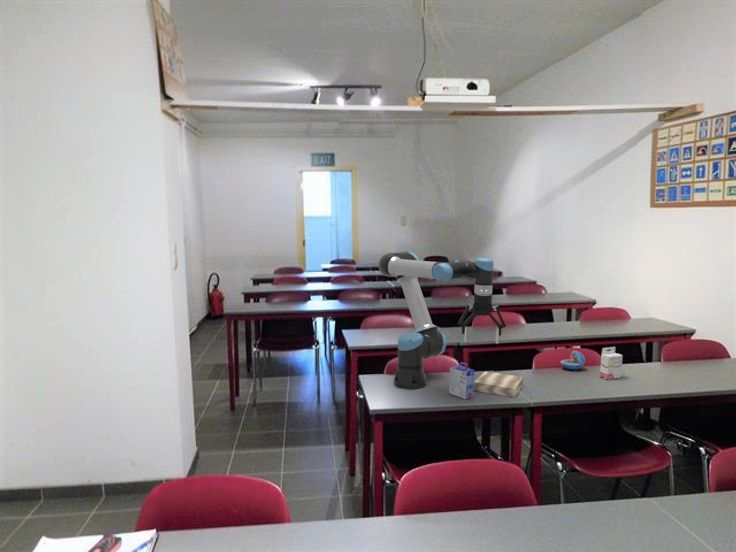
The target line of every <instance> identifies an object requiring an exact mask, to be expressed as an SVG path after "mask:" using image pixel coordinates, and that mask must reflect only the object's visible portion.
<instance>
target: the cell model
mask: <svg viewBox="0 0 736 552" xmlns="http://www.w3.org/2000/svg"><path fill="white" fill-rule="evenodd" d="M569 358H570V359H569ZM569 358H568V359H562V360H560V363H561V365H562V366H563V367H564V368H565V369H566V370H567V369H568V370H571V371H576V370H579V369H581V368H583V366H584V365H585V363H586V362H585V361H586V358H585V355H584V354H583V353H582V352H580V351H578V350H573V351H572V352H571V354H570V357H569Z"/></svg>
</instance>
